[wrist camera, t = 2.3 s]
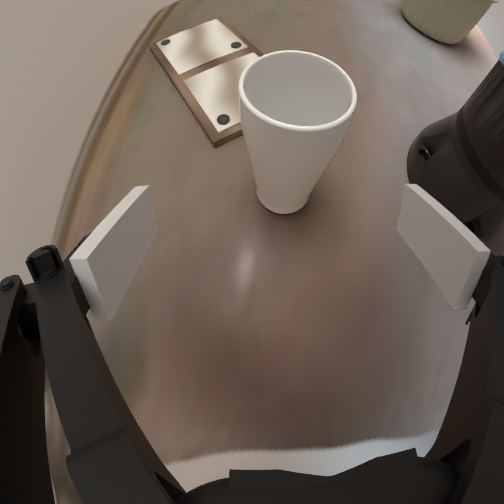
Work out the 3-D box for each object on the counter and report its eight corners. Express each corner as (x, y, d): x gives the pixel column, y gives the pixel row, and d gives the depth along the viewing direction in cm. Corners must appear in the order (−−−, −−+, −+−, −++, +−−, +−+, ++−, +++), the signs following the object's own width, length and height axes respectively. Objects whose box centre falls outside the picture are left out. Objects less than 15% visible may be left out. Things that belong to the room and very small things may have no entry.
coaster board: (221, 21, 35) (220, 14, 34) (307, 105, 31) (309, 97, 29) (150, 49, 34) (148, 43, 33) (214, 147, 30) (212, 140, 28)
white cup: (330, 192, 28) (380, 93, 14) (283, 237, 28) (305, 155, 13) (282, 149, 30) (293, 36, 15) (234, 190, 29) (211, 83, 14)
